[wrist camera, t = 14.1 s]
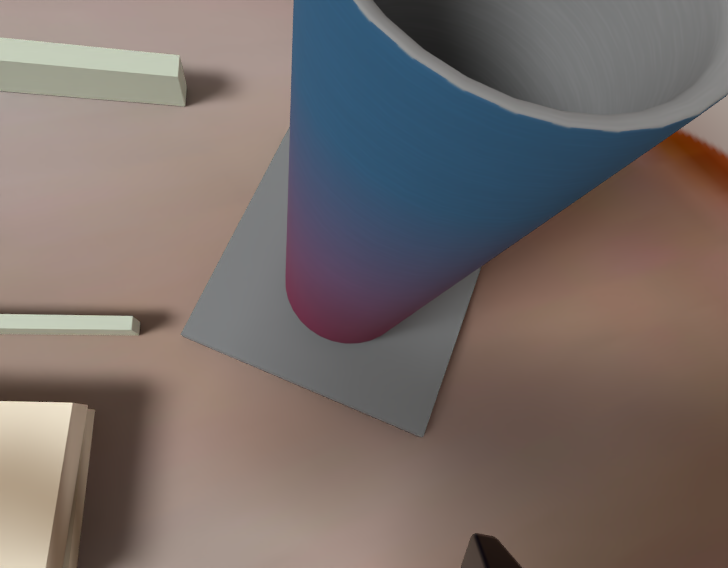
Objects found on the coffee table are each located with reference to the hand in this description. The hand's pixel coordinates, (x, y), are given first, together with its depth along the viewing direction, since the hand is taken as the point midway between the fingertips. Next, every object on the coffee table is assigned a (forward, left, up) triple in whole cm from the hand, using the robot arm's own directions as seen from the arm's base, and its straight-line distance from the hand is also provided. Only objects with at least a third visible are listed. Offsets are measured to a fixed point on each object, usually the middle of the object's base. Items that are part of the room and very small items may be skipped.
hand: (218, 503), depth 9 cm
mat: (+5, -7, -11) cm, 13 cm away
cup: (+5, -6, -10) cm, 13 cm away
